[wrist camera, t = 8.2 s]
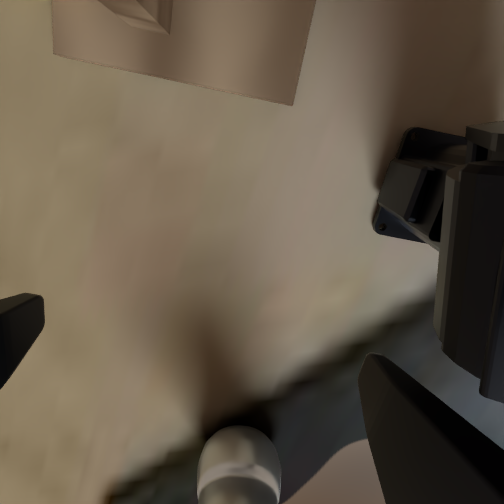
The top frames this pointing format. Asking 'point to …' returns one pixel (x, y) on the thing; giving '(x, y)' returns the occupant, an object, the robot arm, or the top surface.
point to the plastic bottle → (239, 468)
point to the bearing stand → (192, 41)
